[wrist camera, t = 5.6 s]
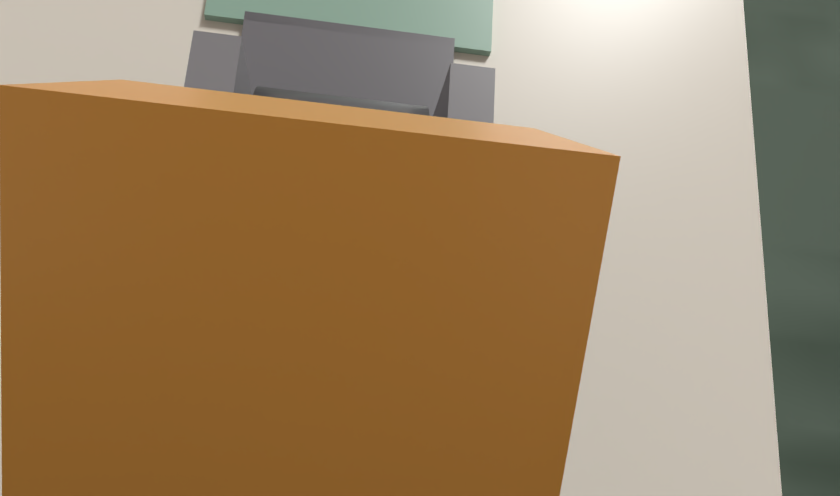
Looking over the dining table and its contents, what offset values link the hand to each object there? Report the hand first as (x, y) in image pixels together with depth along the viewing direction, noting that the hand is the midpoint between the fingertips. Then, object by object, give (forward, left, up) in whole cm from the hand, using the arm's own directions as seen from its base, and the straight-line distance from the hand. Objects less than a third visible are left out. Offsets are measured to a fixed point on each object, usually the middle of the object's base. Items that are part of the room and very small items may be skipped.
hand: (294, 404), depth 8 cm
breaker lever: (+5, 0, -4) cm, 6 cm away
